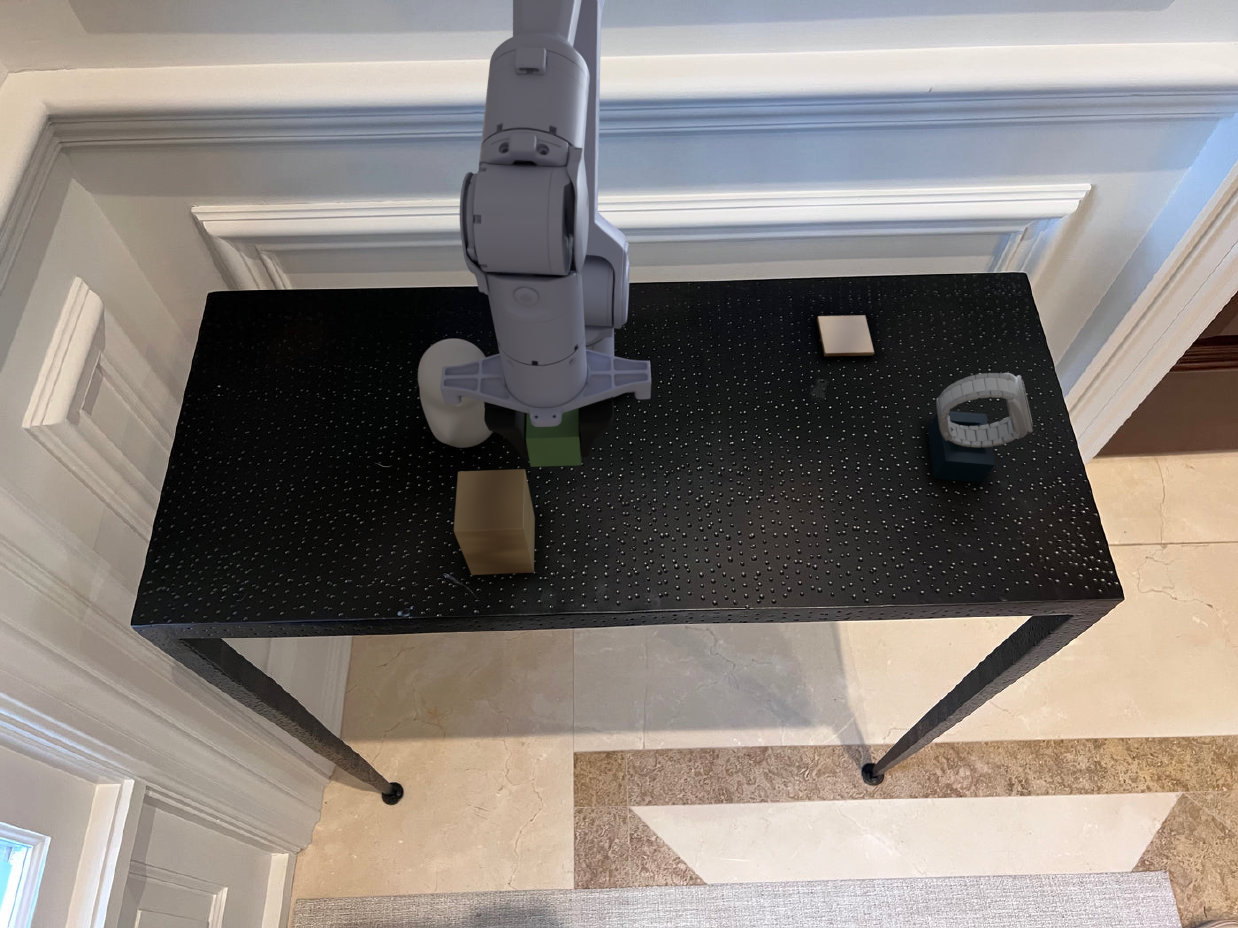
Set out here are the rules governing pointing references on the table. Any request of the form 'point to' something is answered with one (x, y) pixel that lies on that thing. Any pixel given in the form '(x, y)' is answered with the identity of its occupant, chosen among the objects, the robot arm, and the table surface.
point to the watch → (975, 426)
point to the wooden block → (495, 521)
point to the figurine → (445, 421)
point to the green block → (555, 442)
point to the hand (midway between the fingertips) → (555, 447)
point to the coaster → (845, 335)
